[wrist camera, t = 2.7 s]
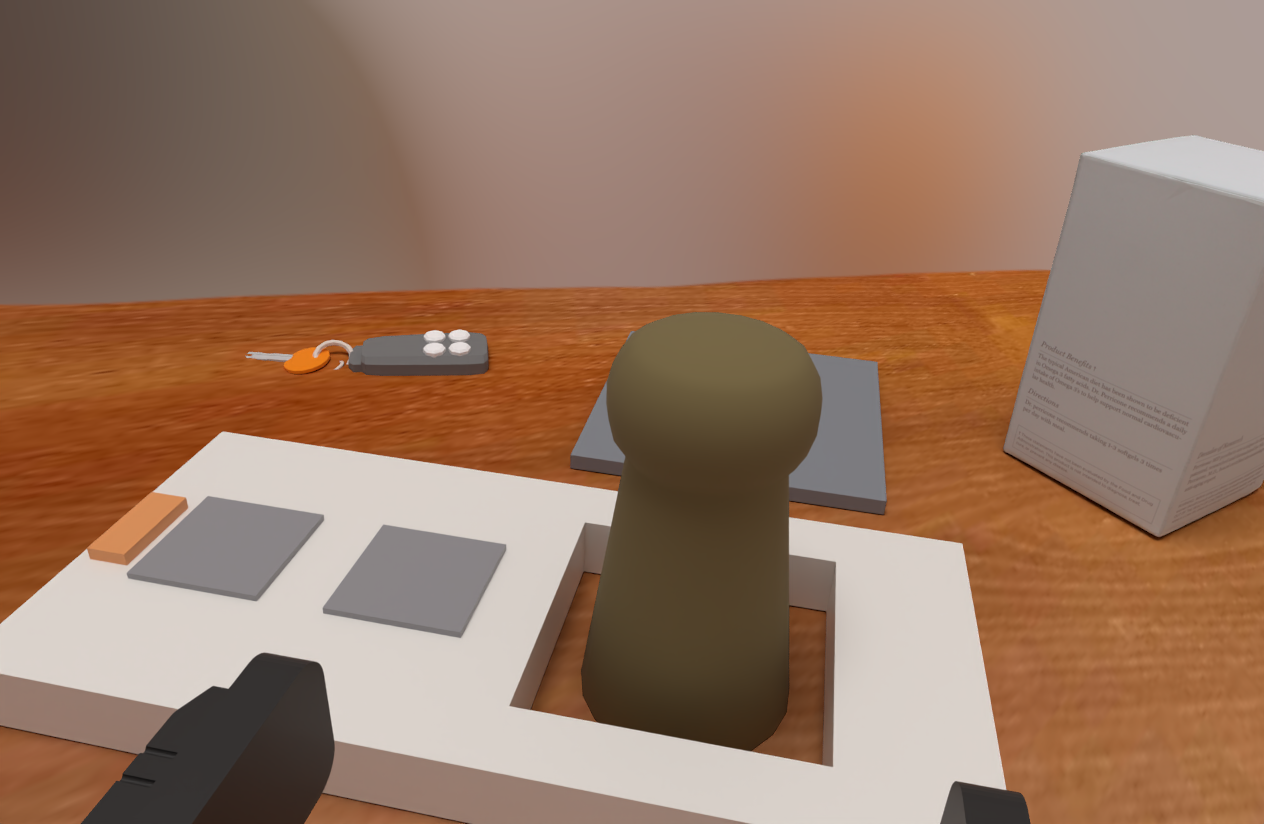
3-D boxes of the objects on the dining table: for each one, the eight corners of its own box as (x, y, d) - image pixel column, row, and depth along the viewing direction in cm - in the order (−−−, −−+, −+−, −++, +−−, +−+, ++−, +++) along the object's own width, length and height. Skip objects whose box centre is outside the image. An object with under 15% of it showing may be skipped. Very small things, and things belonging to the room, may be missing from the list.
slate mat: (570, 468, 37) (570, 454, 37) (630, 342, 47) (631, 331, 47) (883, 514, 35) (886, 501, 35) (875, 373, 45) (877, 361, 45)
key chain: (487, 348, 47) (486, 321, 46) (489, 383, 44) (489, 354, 43) (209, 357, 45) (204, 328, 44) (191, 394, 42) (185, 364, 41)
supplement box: (1265, 491, 38) (1407, 178, 32) (1156, 544, 34) (1291, 204, 28) (1102, 410, 43) (1196, 130, 37) (993, 448, 40) (1077, 146, 34)
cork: (781, 617, 30) (834, 293, 25) (798, 773, 25) (869, 405, 19) (592, 601, 30) (603, 277, 25) (568, 753, 25) (575, 384, 20)
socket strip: (-24, 720, 25) (-51, 652, 24) (231, 477, 35) (220, 421, 34) (999, 934, 21) (1026, 865, 20) (949, 591, 31) (965, 533, 30)
